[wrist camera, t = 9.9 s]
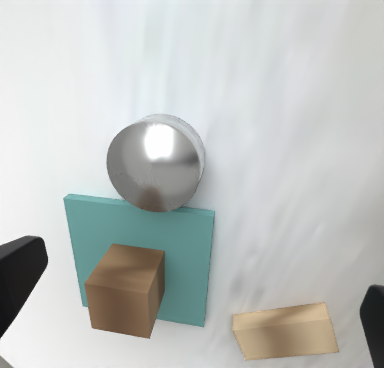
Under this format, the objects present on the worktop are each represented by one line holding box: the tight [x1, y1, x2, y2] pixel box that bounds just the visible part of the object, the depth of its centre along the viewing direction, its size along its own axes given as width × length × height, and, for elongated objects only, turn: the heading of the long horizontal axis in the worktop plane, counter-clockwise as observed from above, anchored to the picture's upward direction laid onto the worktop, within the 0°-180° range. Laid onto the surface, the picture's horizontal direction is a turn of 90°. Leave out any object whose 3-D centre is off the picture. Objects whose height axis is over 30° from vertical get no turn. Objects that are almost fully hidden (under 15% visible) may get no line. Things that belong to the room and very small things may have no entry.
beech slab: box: [232, 302, 339, 360], centre depth 23 cm, size 8×4×2 cm, turn 111°
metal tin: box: [107, 114, 205, 212], centre depth 18 cm, size 6×6×3 cm
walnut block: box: [84, 243, 165, 339], centre depth 21 cm, size 4×4×4 cm
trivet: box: [63, 194, 215, 327], centre depth 23 cm, size 12×12×1 cm
